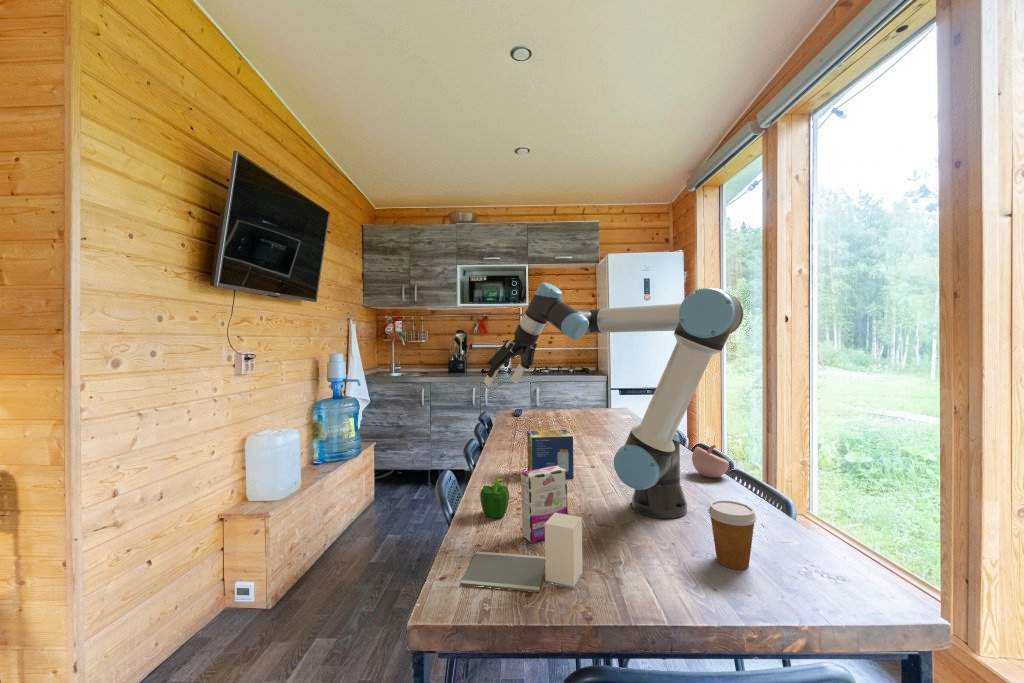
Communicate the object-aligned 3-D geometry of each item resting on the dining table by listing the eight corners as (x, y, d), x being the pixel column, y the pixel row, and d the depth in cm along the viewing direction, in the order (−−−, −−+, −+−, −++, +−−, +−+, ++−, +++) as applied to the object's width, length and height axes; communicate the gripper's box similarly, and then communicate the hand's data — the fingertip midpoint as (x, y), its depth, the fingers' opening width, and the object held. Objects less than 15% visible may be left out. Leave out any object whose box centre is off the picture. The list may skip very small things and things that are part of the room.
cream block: (582, 574, 90) (581, 517, 90) (574, 589, 84) (573, 528, 84) (555, 568, 92) (554, 512, 92) (545, 582, 87) (544, 523, 87)
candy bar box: (557, 526, 113) (557, 464, 113) (568, 534, 108) (567, 469, 108) (520, 536, 108) (519, 471, 108) (530, 544, 103) (529, 476, 103)
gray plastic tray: (546, 559, 96) (545, 556, 96) (539, 592, 83) (539, 589, 83) (477, 554, 99) (476, 551, 99) (460, 585, 86) (460, 582, 86)
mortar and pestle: (736, 482, 146) (735, 448, 146) (700, 482, 146) (700, 449, 146) (719, 471, 158) (719, 440, 158) (686, 471, 158) (686, 441, 158)
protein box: (527, 472, 160) (526, 431, 160) (567, 470, 162) (566, 429, 162) (531, 481, 150) (530, 437, 150) (574, 479, 152) (573, 435, 152)
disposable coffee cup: (756, 578, 87) (755, 519, 87) (705, 566, 92) (704, 510, 92) (758, 558, 95) (757, 504, 95) (711, 547, 100) (710, 496, 100)
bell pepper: (486, 524, 115) (486, 486, 115) (476, 513, 123) (476, 478, 123) (515, 518, 119) (514, 482, 119) (503, 508, 126) (503, 474, 126)
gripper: (544, 324, 146) (517, 374, 154) (495, 321, 127) (467, 378, 135) (559, 336, 142) (531, 386, 150) (511, 335, 123) (481, 393, 131)
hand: (500, 382), depth 142 cm, fingers open, 13 cm apart
